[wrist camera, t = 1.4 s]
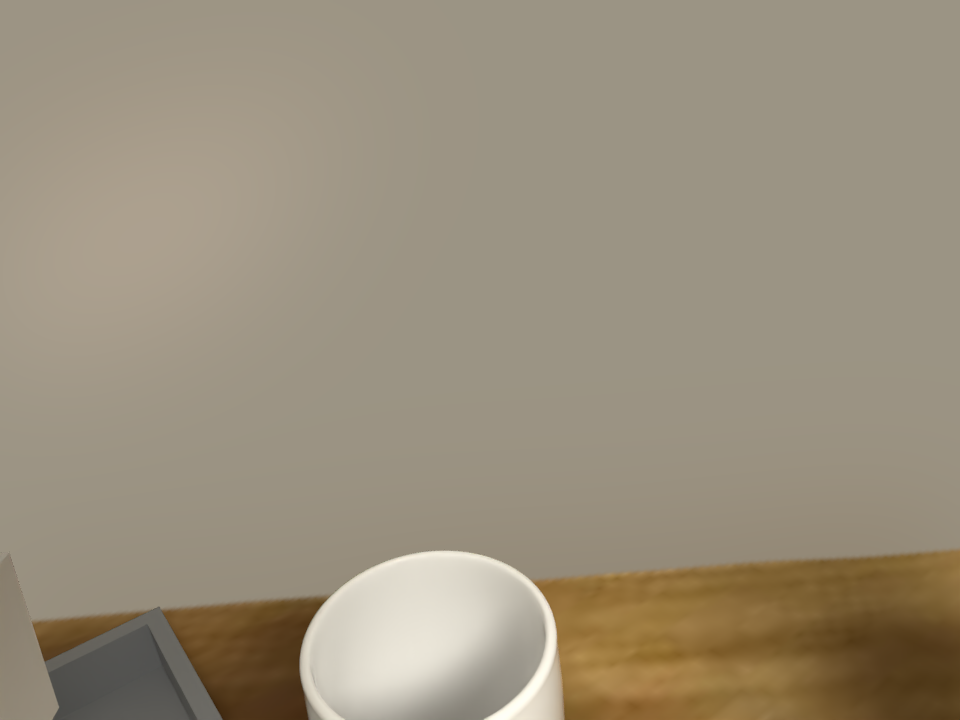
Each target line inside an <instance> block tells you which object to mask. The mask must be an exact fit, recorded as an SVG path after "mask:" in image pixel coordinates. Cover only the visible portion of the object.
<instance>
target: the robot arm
mask: <svg viewBox="0 0 960 720" xmlns="http://www.w3.org/2000/svg"><path fill="white" fill-rule="evenodd" d="M58 708H59V706H58V702H57V699H56V696H55V693H54V690H53V687H52V684H51V681H50V678H49V675H48V671H47V668H46V665H45V662H44V659H43V656H42V653H41V650H40V647H39V643H38V640H37V637H36V634H35V631H34V628H33V625H32V622H31V619H30V616H29V613H28V609H27V606H26V603H25V600H24V597H23V594H22V591H21V588H20V584H19V581H18V579H17V575H16V572H15V569H14V566H13V563H12V560H11V557H10V554H9V553H0V720H52V719H53V717H54V716H55V714H56V712H57V710H58Z"/></svg>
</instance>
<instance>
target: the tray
mask: <svg viewBox="0 0 960 720" xmlns="http://www.w3.org/2000/svg"><path fill="white" fill-rule="evenodd" d="M45 665H46V668H47V671H48V675H49V678H50V681H51V684H52V687H53V690H54V693H55V696H56V699H57V702H58V706H59V708H58V710H57V712H56V714H55V716H54V717H53V719H52V720H223V719H222V718H221V716H220V714H219V712H218V711H217V709H216V707H215V705H214V703H213V702H212V700H211V698H210V696H209V695H208V693H207V691H206V689H205V687H204V686H203V684H202V682H201V680H200V678H199V677H198V675H197V673H196V671H195V670H194V668H193V666H192V664H191V662H190V661H189V659H188V657H187V655H186V654H185V652H184V650H183V648H182V646H181V645H180V643H179V641H178V639H177V638H176V636H175V634H174V632H173V630H172V629H171V627H170V625H169V623H168V621H167V620H166V618H165V616H164V614H163V613H162V611H161V609H160V607H157V608H155V609H153V610H151V611H149V612H147V613H145V614H143V615H141V616H139V617H137V618H134V619H132V620H130V621H128V622H126V623H124V624H122V625H120V626H118V627H116V628H114V629H112V630H110V631H108V632H106V633H104V634H101V635H99V636H97V637H95V638H93V639H91V640H89V641H87V642H85V643H83V644H81V645H79V646H77V647H75V648H73V649H70V650H68V651H66V652H64V653H62V654H60V655H58V656H56V657H54V658H52V659H50V660H48V661H46V662H45Z"/></svg>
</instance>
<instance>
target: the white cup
mask: <svg viewBox="0 0 960 720" xmlns="http://www.w3.org/2000/svg"><path fill="white" fill-rule="evenodd" d="M299 668H300V678H301V683H302V687H303V693H304V698H305V704H306V710H307V715H308V720H565V713H564V695H563V683H562V673H561V665H560V656H559V649H558V641H557V631H556V624H555V620H554V616H553V613H552V611H551V608H550V606H549V604H548V602H547V600H546V598H545V597H544V595H543V594H542V593H541V591H540V590H539V589H538V588H537V586H536V585H535V584H534V583H533V582H532V581H531V580H530V579H528V578H527V577H526V576H525V575H524V574H522V573H521V572H519V571H518V570H516V569H515V568H513V567H511V566H509V565H507V564H506V563H503V562H501V561H499V560H496V559H494V558H491V557H488V556H484V555H481V554H476V553H471V552H464V551H452V550H438V551H426V552H418V553H413V554H408V555H404V556H400V557H397V558H393V559H390V560H387V561H384V562H382V563H380V564H377V565H375V566H373V567H371V568H369V569H367V570H365V571H363V572H361V573H360V574H358V575H356V576H355V577H353V578H352V579H350V580H349V581H347V582H346V583H345V584H343V585H342V586H341V587H340V588H338V589H337V590H336V591H335V592H334V593H333V594H332V595H331V596H330V597H329V598H328V599H327V600H326V601H325V602H324V603H323V605H322V606H321V607H320V609H319V610H318V611H317V613H316V614H315V616H314V617H313V619H312V621H311V622H310V624H309V626H308V629H307V631H306V633H305V636H304V639H303V642H302V646H301V651H300V660H299Z"/></svg>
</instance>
